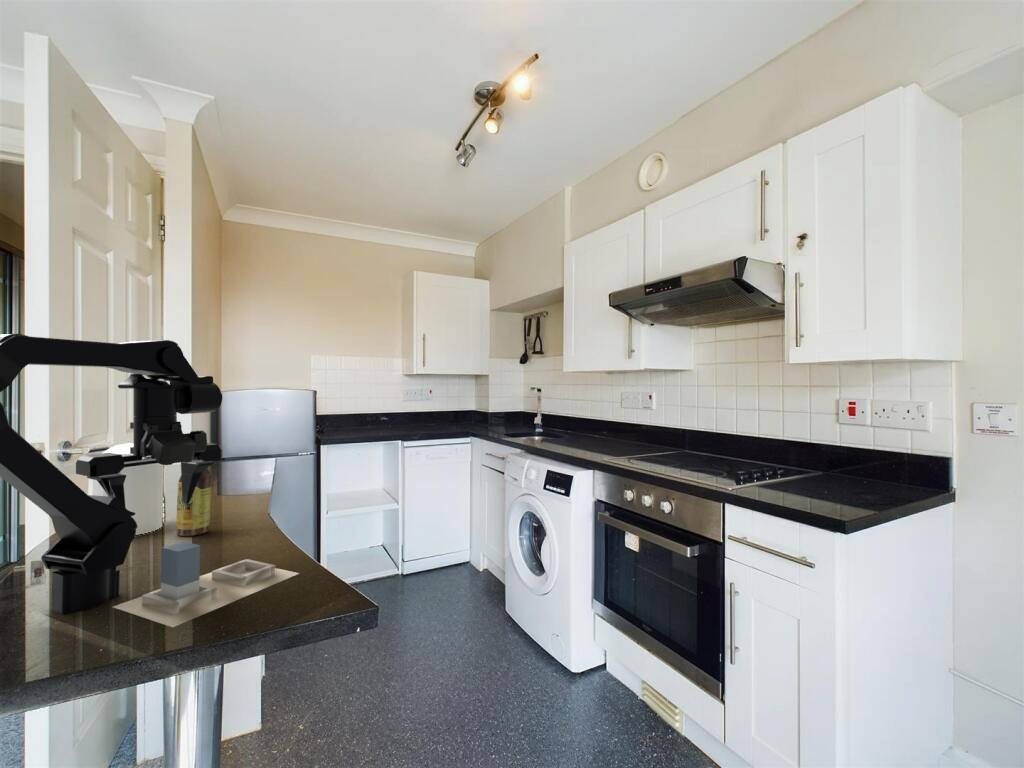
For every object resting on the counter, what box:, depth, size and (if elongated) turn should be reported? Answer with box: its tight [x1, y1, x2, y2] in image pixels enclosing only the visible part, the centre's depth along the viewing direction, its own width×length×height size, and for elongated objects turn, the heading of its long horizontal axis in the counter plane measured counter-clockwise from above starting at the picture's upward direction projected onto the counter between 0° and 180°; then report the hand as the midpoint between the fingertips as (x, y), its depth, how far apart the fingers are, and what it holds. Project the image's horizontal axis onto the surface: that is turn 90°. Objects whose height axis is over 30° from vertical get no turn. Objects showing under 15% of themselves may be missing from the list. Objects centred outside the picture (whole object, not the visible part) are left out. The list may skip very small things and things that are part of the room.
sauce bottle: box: [175, 467, 212, 537], centre depth 104 cm, size 7×6×20 cm
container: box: [87, 442, 164, 535], centre depth 106 cm, size 14×13×20 cm
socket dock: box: [112, 558, 300, 628], centre depth 72 cm, size 20×14×2 cm
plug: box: [160, 541, 201, 601], centre depth 68 cm, size 3×4×8 cm
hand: (155, 509), depth 77 cm, fingers open, 9 cm apart
